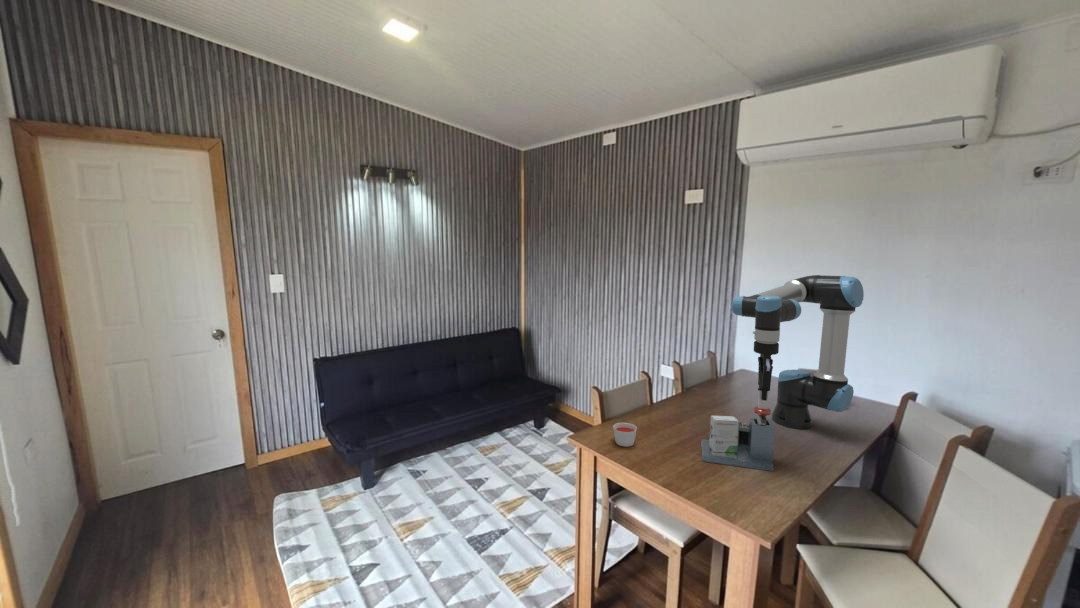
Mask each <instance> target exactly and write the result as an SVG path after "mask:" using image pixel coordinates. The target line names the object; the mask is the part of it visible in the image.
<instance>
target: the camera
mask: <svg viewBox="0 0 1080 608" xmlns="http://www.w3.org/2000/svg"><path fill="white" fill-rule="evenodd" d="M748 431H749V424H748V423H746V422H744V423H743V422H741V421H739V429H738V444H744V445H748Z"/></svg>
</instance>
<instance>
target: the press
mask: <svg viewBox="0 0 1080 608" xmlns="http://www.w3.org/2000/svg"><path fill="white" fill-rule="evenodd" d="M773 422H774V421H773V420H772V419H768V418H767V423H766V425H762V424H757V417H748V425H749V431H748V445H744V444H738V451H737V453H732V452H713V451H712V449H711V448H710V446H709V440H710V439H705V438H703V439H702V438H701V443H700V444H701V458H702V459H701V460H702V462H704V463H705V462H706V463H713V464H719V465H720V464H721V465H727V466H735V467H741V468H749V469H754V470H761V471H767V472H768V471H769V472H773V471H774V463H773V461H774V449H775V433H776V431H775V430H776V427H775V425H774V423H773Z"/></svg>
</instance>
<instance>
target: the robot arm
mask: <svg viewBox="0 0 1080 608" xmlns="http://www.w3.org/2000/svg"><path fill="white" fill-rule="evenodd" d="M864 297H865V292H864V287H863V284H862V283H861V280H859V278H857V277H855V276H846V275H820V274H813V275H806V276H802V277H797V278H795V279H791V280H788V281H786V282H785V283H784V285H781V286H777V287H775V288H772V289H769V290H765V291H762V292H759V293H756V294H753V295H750V296H745V295H740V296H739V295H738V296H736V297H735V298H733V300H732V303H731V310H732V313H733V314H734V315H735V316H740V317H747V318H755V319H754V320H755V321H754V323H755V324H754V330H755V331H752V334H754V340H755V341H754V342H753V352H754V353H756V354H759V356H758V357H757V360H758V361H757V362H758V367H757V368H758V369H757V370H758V372H757V373H758V378H757V380H758V381H757V385H758V388H757V391H758V400H757V402H758V403H757V404H758V405H757V407H758V408H761V409H767V408H768V406H769V392H771V391H770V390H771V382H772V375H773V369H774V366H773V363H774V360H773V358H772V356H774V355H778V354H779V351H780V350H779V349H780V348H779V347H780V343H779V342H780V335H781V334H780V333H781V323H784V322H791V321H794V320H797V319H798V318H799V317H800V316H801V314H802V306H801V304H800V303H810V304H819V310H820V311H821V312H822V313H823V317H822V319H823V320H822V327H821V328H822V329H821V338H820V350H819V359H818V371H817V372H816V373H814V375H813V377H811V376H810V375H811V374H810V372H809V371H805V370H798V369H784V370H782V371H780V372H779V374H778V379H777V397H776V398H777V400H776V404H775V405H774V408H773V410H772V412H771V420H772V422H774V423H775V424H777V425H779V426H782V427H784V428H788V429H789V428H790V429H795V430H796V429H797V430H807V429H809V428H811V427H812V425H813V422H812V421H813V420H812V417H811V414H810V410H809V405H810V406H814V407H818V408H820V409H824V410H827V411H832V412H837V413H842V412H844V411H845V410H847V409H848V408H849V406H850V404H851V402H852V400H853V397H854V387H853V386H852V385H851V384H849V383H848V382H849V378H848V377H847V376H845V366H846V357H847V349H848V347H847V346H848V337H849V330H850V329H849V327H850V321H851V320H850V316H851V315H852V314H854V313H855V312H856V308H859V307H861V306H862V304H863V301H864ZM768 409H769V408H768Z"/></svg>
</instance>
